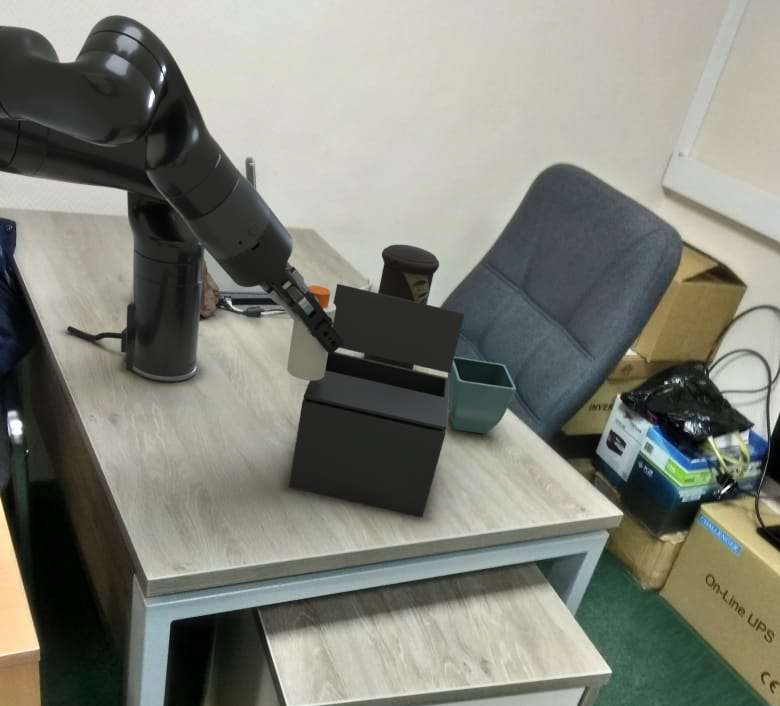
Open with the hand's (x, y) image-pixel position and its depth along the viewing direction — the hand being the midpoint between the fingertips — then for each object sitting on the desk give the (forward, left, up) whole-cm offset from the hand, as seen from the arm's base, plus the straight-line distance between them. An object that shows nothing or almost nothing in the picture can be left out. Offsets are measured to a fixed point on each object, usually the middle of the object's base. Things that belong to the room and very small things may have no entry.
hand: (326, 337), depth 93 cm
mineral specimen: (-31, +44, -19) cm, 57 cm away
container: (+7, +38, -19) cm, 43 cm away
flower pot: (+21, +24, -19) cm, 37 cm away
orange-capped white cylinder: (-2, -1, -4) cm, 5 cm away
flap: (+7, +13, -2) cm, 15 cm away
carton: (+7, +4, -18) cm, 20 cm away
